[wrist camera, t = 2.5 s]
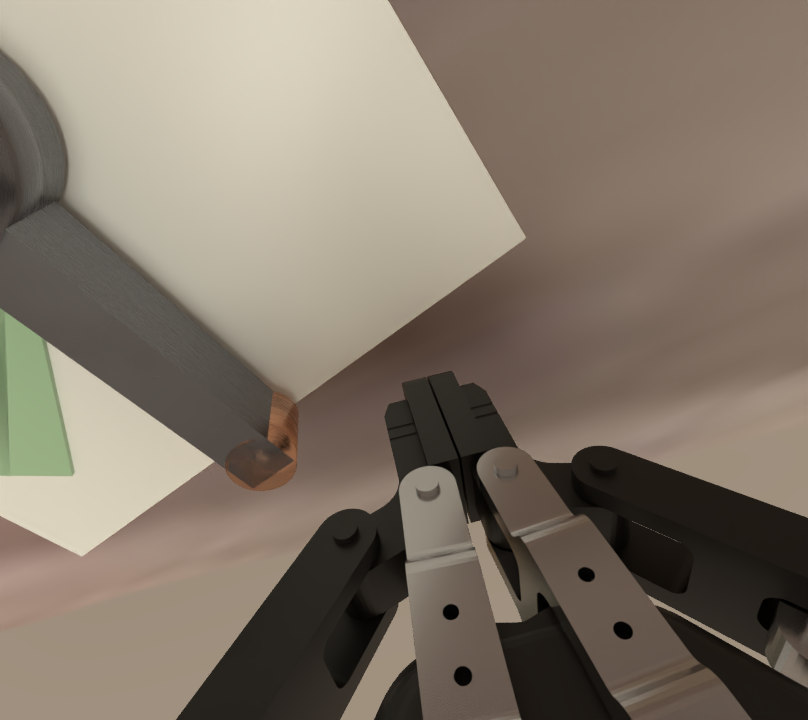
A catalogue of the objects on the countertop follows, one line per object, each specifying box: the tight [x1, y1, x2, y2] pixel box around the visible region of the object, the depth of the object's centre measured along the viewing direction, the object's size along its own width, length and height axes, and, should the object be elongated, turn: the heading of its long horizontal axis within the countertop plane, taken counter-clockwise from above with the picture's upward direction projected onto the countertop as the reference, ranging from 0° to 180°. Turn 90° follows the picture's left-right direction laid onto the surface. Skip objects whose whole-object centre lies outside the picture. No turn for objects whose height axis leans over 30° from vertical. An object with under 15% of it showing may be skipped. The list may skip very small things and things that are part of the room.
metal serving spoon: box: [0, 52, 298, 491], centre depth 12 cm, size 14×5×3 cm, turn 36°
